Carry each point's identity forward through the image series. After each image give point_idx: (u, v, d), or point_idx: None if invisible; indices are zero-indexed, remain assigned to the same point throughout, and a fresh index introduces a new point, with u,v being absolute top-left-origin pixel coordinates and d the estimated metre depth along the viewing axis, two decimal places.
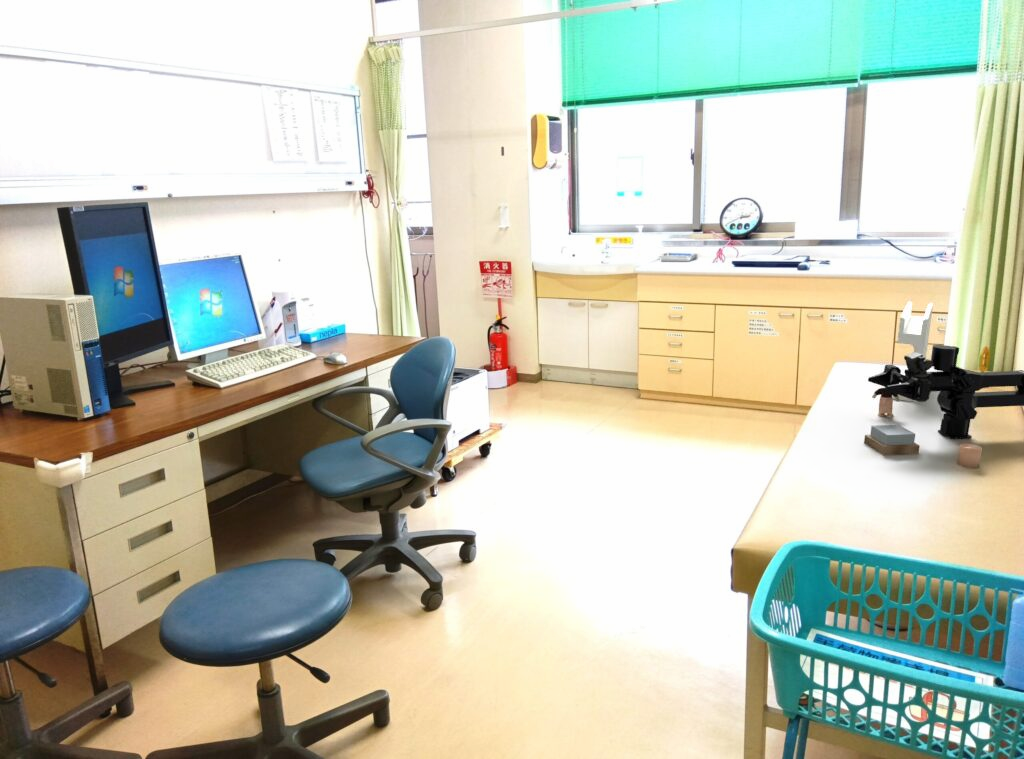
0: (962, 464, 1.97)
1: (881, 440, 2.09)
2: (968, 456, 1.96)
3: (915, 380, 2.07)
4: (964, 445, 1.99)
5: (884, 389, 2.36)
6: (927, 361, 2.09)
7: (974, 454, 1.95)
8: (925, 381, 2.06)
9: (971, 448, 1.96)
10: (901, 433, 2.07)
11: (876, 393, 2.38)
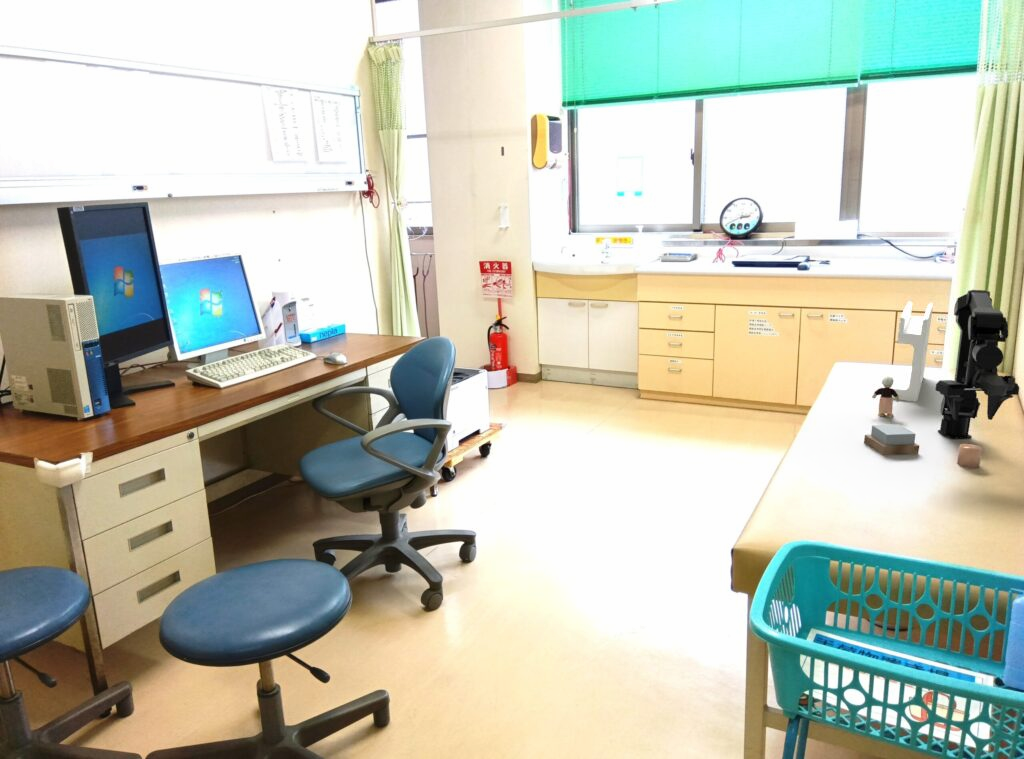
0: (962, 464, 1.97)
1: (881, 440, 2.09)
2: (968, 456, 1.96)
3: (1010, 397, 1.92)
4: (964, 445, 1.99)
5: (884, 389, 2.36)
6: None
7: (974, 454, 1.95)
8: (1018, 391, 1.91)
9: (971, 448, 1.96)
10: (902, 432, 2.07)
11: (876, 393, 2.38)
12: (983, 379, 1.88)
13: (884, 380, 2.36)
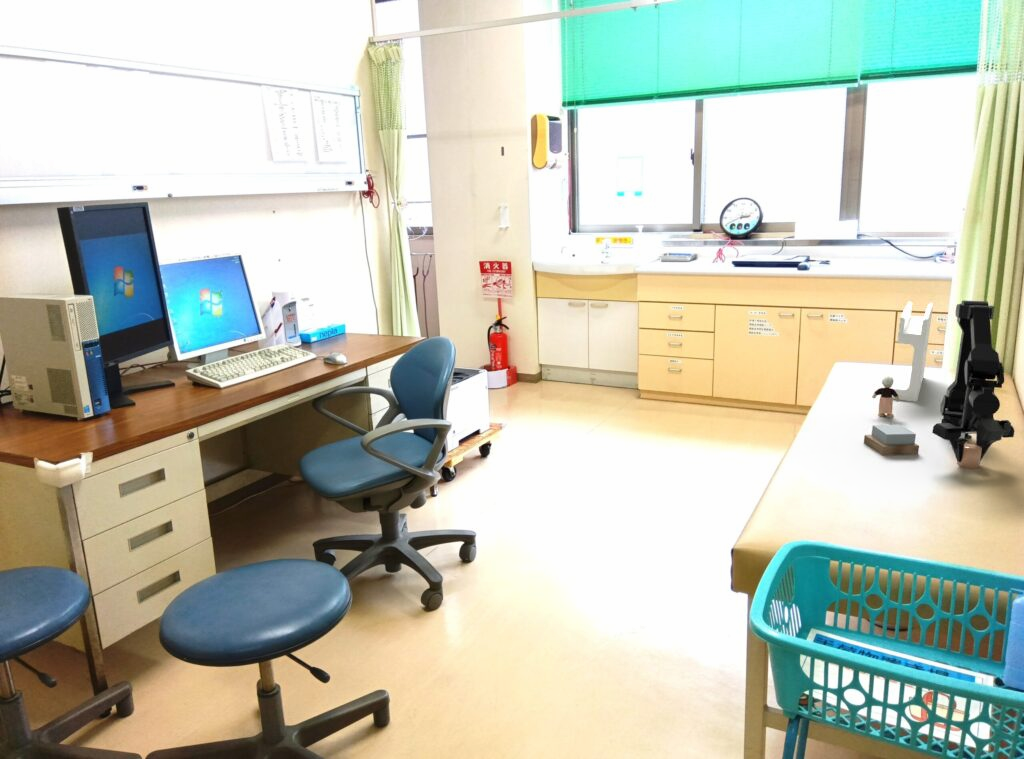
0: (962, 464, 1.97)
1: (881, 439, 2.09)
2: (968, 456, 1.96)
3: None
4: (964, 445, 1.98)
5: (884, 389, 2.36)
6: None
7: (974, 454, 1.95)
8: (1013, 433, 1.94)
9: (971, 448, 1.96)
10: (902, 432, 2.07)
11: (876, 393, 2.38)
12: (980, 424, 1.90)
13: (884, 380, 2.36)
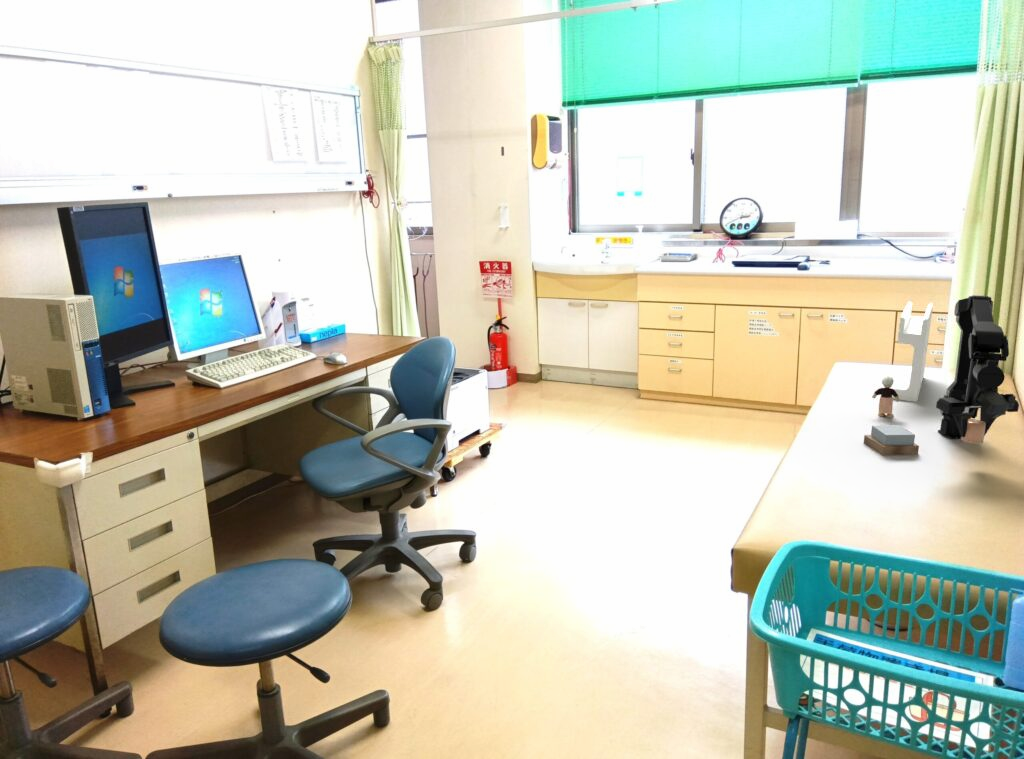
0: (966, 439, 1.95)
1: (880, 440, 2.09)
2: (972, 431, 1.94)
3: (1003, 414, 1.92)
4: (968, 420, 1.97)
5: (884, 389, 2.36)
6: None
7: (978, 429, 1.93)
8: (1018, 407, 1.92)
9: (975, 423, 1.94)
10: (901, 433, 2.07)
11: (876, 393, 2.38)
12: (984, 398, 1.88)
13: (884, 380, 2.36)
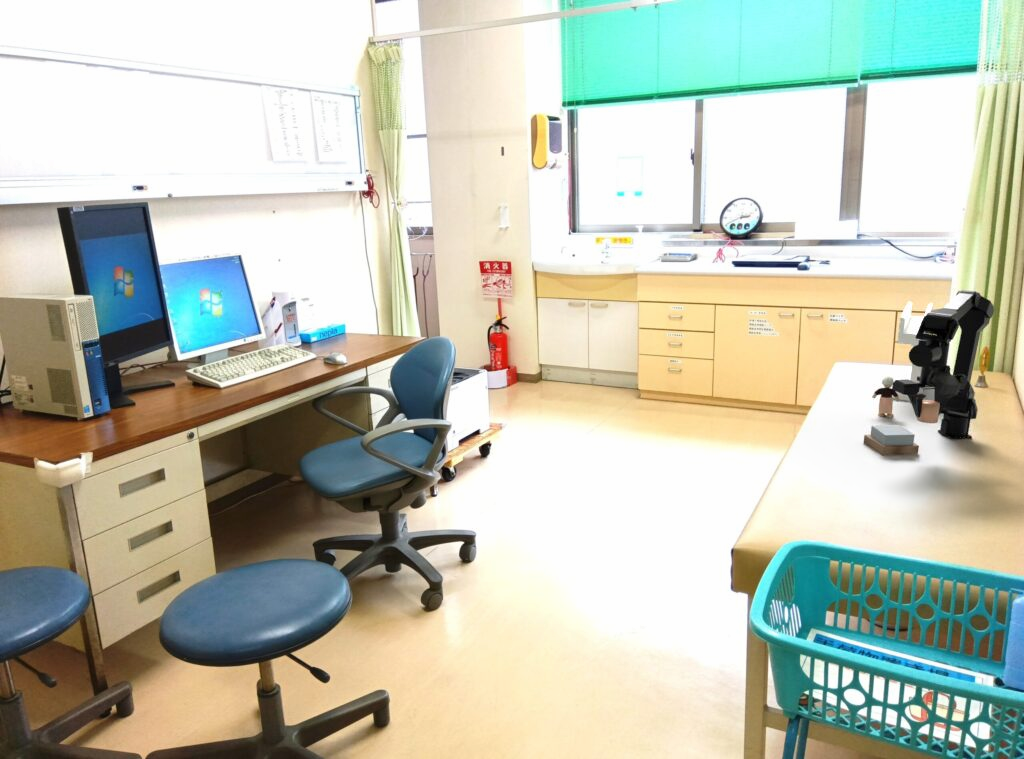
0: (921, 419, 2.02)
1: (880, 440, 2.09)
2: (927, 411, 2.00)
3: (955, 395, 1.99)
4: (923, 401, 2.03)
5: (884, 389, 2.36)
6: None
7: (933, 409, 2.00)
8: (970, 388, 1.99)
9: (930, 403, 2.01)
10: (900, 433, 2.07)
11: (876, 393, 2.38)
12: (937, 378, 1.95)
13: (884, 380, 2.36)
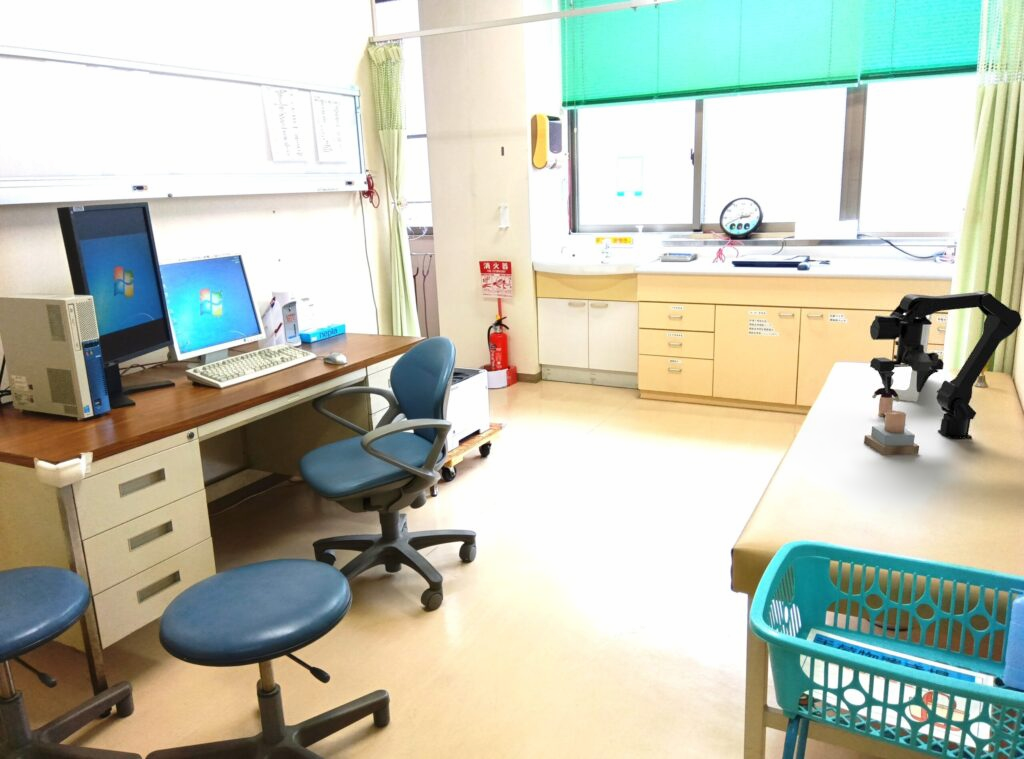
0: (888, 429, 2.08)
1: (880, 440, 2.09)
2: (893, 421, 2.07)
3: None
4: (890, 411, 2.09)
5: (884, 389, 2.36)
6: None
7: (898, 420, 2.06)
8: None
9: (896, 414, 2.07)
10: (901, 433, 2.07)
11: (876, 393, 2.38)
12: (910, 356, 2.10)
13: None
